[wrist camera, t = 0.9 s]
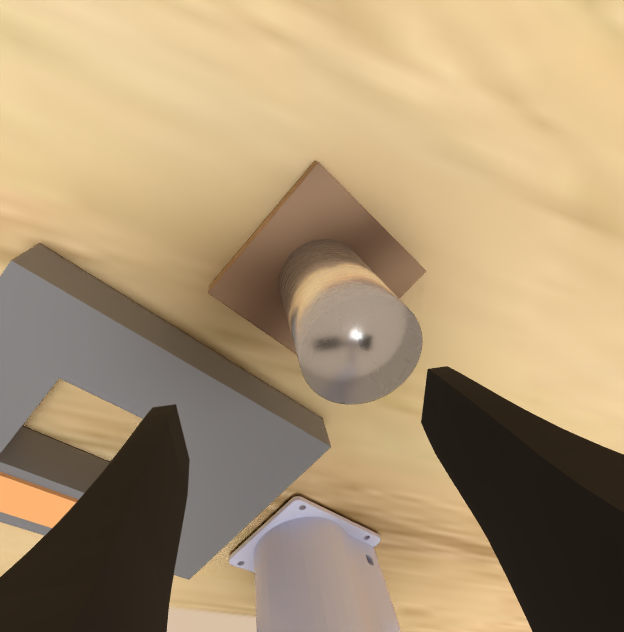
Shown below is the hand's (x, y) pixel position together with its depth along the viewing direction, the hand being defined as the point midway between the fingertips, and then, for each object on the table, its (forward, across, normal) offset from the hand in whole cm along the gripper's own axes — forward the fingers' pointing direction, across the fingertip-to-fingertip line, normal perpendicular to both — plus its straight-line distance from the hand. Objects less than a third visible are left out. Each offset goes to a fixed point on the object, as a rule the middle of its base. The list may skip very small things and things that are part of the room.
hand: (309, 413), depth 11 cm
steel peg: (+9, -2, 0) cm, 10 cm away
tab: (+10, -2, 0) cm, 11 cm away
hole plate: (+10, +9, +8) cm, 16 cm away
